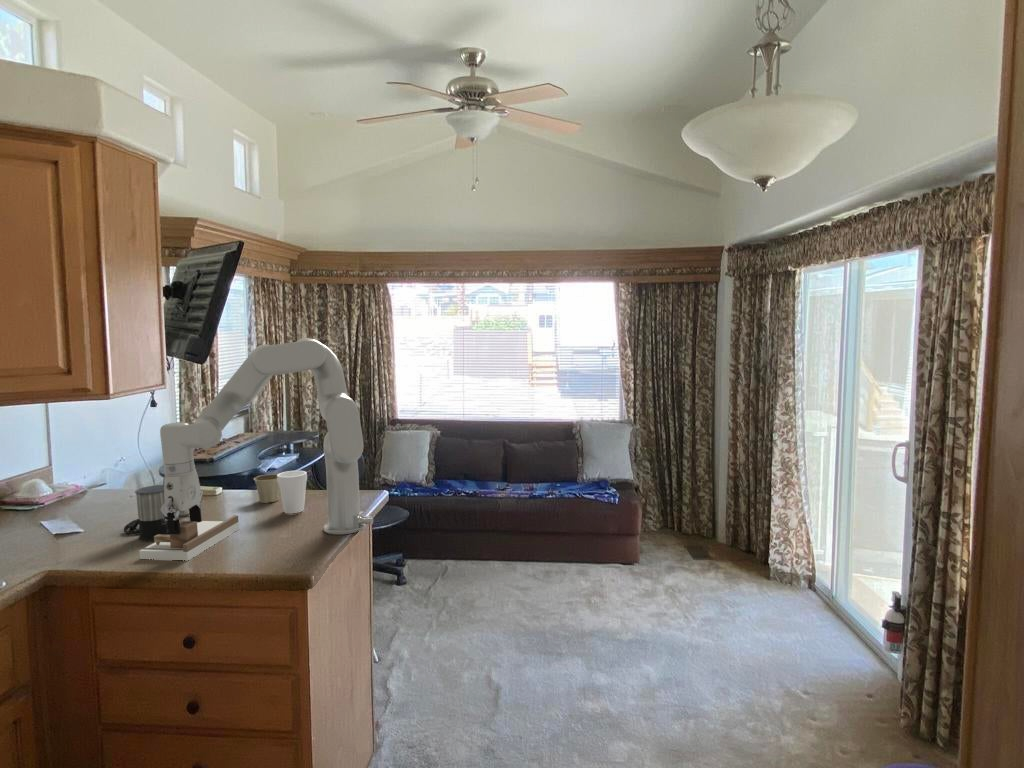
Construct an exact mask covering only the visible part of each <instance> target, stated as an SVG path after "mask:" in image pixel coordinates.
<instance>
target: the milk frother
mask: <svg viewBox="0 0 1024 768" xmlns="http://www.w3.org/2000/svg"><path fill="white" fill-rule="evenodd" d="M134 493H135V494H136V495H135V496H136V503H137V504H136V505H137V516H138V518H137V519H133V520H132V521H130V522H128V523H127V524H126V525H125V526H124V527H123V532H124V533H125V534H127V535H137V534H139V537H138V540H140V541H141V540H142V542H154V536H156V535H158V534H159V535H170V534H169V533H168V525H167V521H166V520H165V518H164V517H163V514H162V512H161V507H162V506H163V504H164V503H165V497H164V484H157V485H156V484H155V485H148V486H145V487H140V488H137V489H136V490H135V491H134ZM174 513H175V512H172V514H173V515H174ZM177 519H179V517H178V518H177ZM137 527H138V529H137Z"/></svg>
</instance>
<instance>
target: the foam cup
mask: <svg viewBox="0 0 1024 768" xmlns="http://www.w3.org/2000/svg"><path fill="white" fill-rule="evenodd" d="M307 473H308V471H305V470H287V471H283V472H280V473H277V474H278V475H277V482H278V485H279V494H280V500H281V504H282V509H283V512H285V513H297V512H301V511H303V510H304V511H305V502H306V490H307V480H308V474H307ZM304 511H303V512H304ZM285 513H284V514H285Z"/></svg>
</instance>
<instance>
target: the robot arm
mask: <svg viewBox="0 0 1024 768" xmlns="http://www.w3.org/2000/svg"><path fill="white" fill-rule="evenodd" d="M303 371H304V372H305V371H311V373H312V375H313V377H314V382H315V385H316V390H317V397H318V403H319V404H318V405H319V413H320V416H321V417H322V418H323V420H325V422H326V423H325V424H326V427H327V428H326V429H327V433H326V434H325V435H324V438H323V454H324V463H325V473H326V475H325V477H326V494H327V495H326V496H327V512H328V513H327V514H328V515H327V516H328V518H327V519H328V522H327V523H325V524H324V525H323V532H325V533H326V534H329V535H336V536H337V535H348V534H349V535H350V534H354V533H358V532H361V531H362V530H364V529H365V528H366V527H367V525H373V524H374V517H372V516H371V515H366V516H365V515H364V511H361V502H360V480H359V479H360V478H359V477H360V476H359V463H358V460H359V459H360V458H361V456H362V454H363V452H364V438H363V436H364V435H363V429H362V425H361V418H360V414H359V409H358V407H357V403H356V402H355V401H354V400H353V398H351V397H350V396H349V393H348V389H347V384H346V380H345V379H346V378H345V374H344V370H343V366H342V364H341V362H340V360H339V358H338V357H337V355H336V354H335V353H334V352H333V350H331V349H330V348H329V347H328V346H326V344H323V343H322V342H320V341H319V340H317V339H314V338H308V337H305V338H304V337H303V338H300V339H298V340H297V341H292V342H285V343H278V344H266V343H265V344H261V345H258V346H257V347H256V348H254V349H253V351H251V353H250V354H249V355H248V357H247V358H246V359H245V360H244V361H243V362H242V364H241V365H240V366H239V367H238V369H237V370H236V371H235V372H234V373H233V375H232V376H230V378H229V380H228V381H227V382H226V383H225V384H224V386H222V388H221V389H220V391H219V392H218V394H216V396H215V397H214V398H213V399H212V401H210V402H209V404H207V406H206V408H205V409H204V410H203V411H201V414H200V415H199V416H198V417H197V418H196V420H195V421H194V422H193V423H190V424H189V423H187V422H183V421H181V422H179V421H178V422H177V421H176V422H171V423H167V424H166V423H165V424H163V425H162V426H161V427H160V429H159V433H160V435H159V437H160V443H161V445H160V446H161V453H162V454H161V455H162V462H163V464H162V465H163V472H164V474H163V475H164V480H163V481H164V484H163V485H164V497H165V503H164V504H163V506H162V507H161V512H162V514H163V517H164V518H165V520H166V521H167V525H168V533H169V534H180V533H181V532H180V518H179V516H178V515H179V512H180V511H185V510H187V509H189V508H190V509H189V515H190V516H189V521H196V522H201V521H203V520H202V518H203V517H202V511H201V510H202V509H201V508H202V505H203V504H202V501H203V493H204V490H203V489H201V483H200V479H199V475H198V472H197V469H196V465H195V460H194V459H195V458H194V457H195V456H194V449H210V448H213V447H215V446H217V445H218V444H219V443H220V442H221V439H222V437H223V434H222V433H223V430H224V428H226V426H227V425H228V424H229V423H230V421H231V420H232V419H233V418H234V417H235V416H236V415H237V414H238V413H239V412H240V411H241V410H242V409H243V408H245V407H247V406H249V405H250V404H251V403H252V402H253V401H254V400H255V398H256V397H258V395H259V394H260V392H261V391H262V390H263V389H264V387H265V386H266V385H267V384H268V382H269V381H270V380H271V379H272V378H273V376H280V375H287V374H293V373H299V372H303ZM194 465H195V466H194ZM172 512H175V513H174V515H173V514H172ZM177 518H178V519H177Z"/></svg>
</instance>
